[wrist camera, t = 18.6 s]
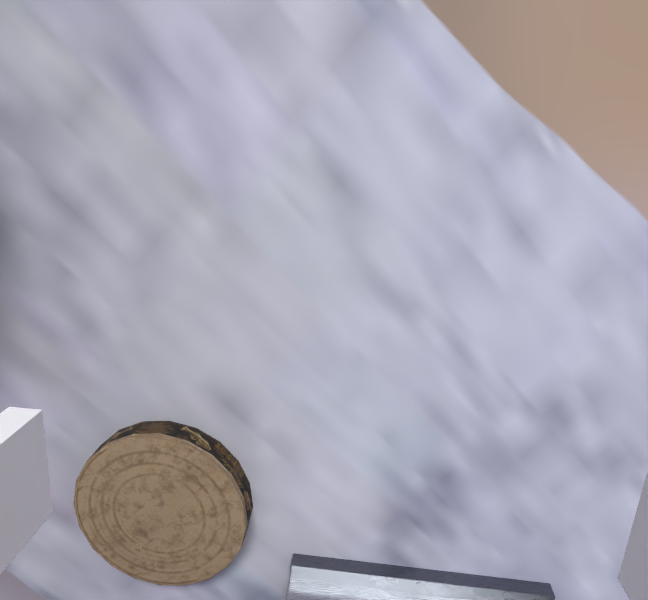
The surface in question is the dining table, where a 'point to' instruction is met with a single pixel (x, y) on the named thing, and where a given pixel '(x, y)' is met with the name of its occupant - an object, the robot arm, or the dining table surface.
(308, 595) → the track
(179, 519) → the wood log slice
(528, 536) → the dining table surface
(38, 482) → the robot arm
